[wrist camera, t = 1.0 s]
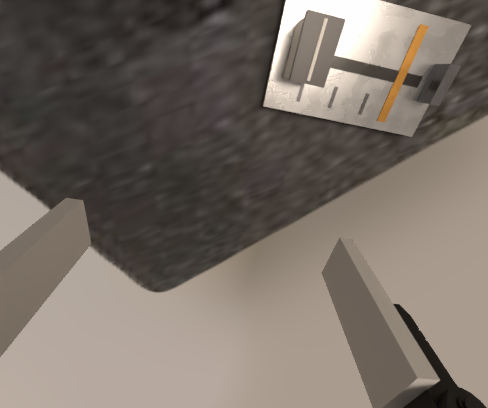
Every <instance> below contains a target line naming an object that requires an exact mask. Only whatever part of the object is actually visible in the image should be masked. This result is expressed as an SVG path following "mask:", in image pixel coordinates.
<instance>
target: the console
mask: <svg viewBox="0 0 488 408" xmlns="http://www.w3.org/2000/svg"><path fill="white" fill-rule="evenodd" d="M308 9H309V10H313V11H317V12H321V13H324V14H328V15H332V16H336V17H340V18H344V19H346V21H345V24H344V27H343V30H342V33H341V36H340V40H339V43H338V46H337V49H336V52H335V55H334V58H333V61H332V64H331V68H330V71H329V74H328V77H327V80H326V83H325V86H324V88H322V87H317V86H313V85H308V84H303V83H299V82H294V81H290V80H289V78H286V77H284V73H285V69H286V65H287V61H288V57H289V52H290V48H291V44H292V40H293V36H294V32H295V28H296V23H297V22H299V21H300V20H301V19H302V18H304V17H305V13H306V11H307V10H308ZM470 27H471V25H469V24H465V23H462V22H458V21H454V20H451V19H447V18H443V17H440V16H436V15H432V14H428V13H425V12H421V11H417V10H414V9H410V8H406V7H403V6H399V5H395V4H392V3H388V2H384V1H380V0H284V5H283V9H282V14H281V19H280V24H279V28H278V33H277V38H276V42H275V47H274V52H273V56H272V61H271V66H270V70H269V75H268V80H267V84H266V89H265V94H264V99H263V103H262V105H263V106H265V107H269V108H274V109H279V110H284V111H289V112H294V113H299V114H304V115H308V116H313V117H318V118H323V119H328V120H333V121H338V122H343V123H347V124H352V125H357V126H362V127H367V128H372V129H377V130H382V131H386V132H391V133H396V134H401V135H406V136H411V137H412V136H413V134H414V132H415V130H416V128H417V126H418V124H419V122H420V121H421V119H422V117H423V115H424V113H425V111H426V109H427V107H428V106H429V104H430V105H436V106H439V105H440V103H441V102H442V100H443V98H444V96H445V94H446V93H447V91H448V89H449V87H450V85H451V84H452V82H453V80H454V78H455V76H456V75H457V73H458V71H459V69H460V67H461V66H458V65H454V64H451V62H452V60H453V59H454V57H455V55H456V53H457V51H458V49H459V47H460V45H461V44H462V42H463V40H464V38H465V36H466V34H467V32H468V30H469V29H470Z"/></svg>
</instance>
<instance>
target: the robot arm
mask: <svg viewBox="0 0 488 408" xmlns="http://www.w3.org/2000/svg"><path fill="white" fill-rule="evenodd" d="M90 245H91V239H90V234H89V229H88V223H87V218H86V213H85V208H84V202H83V200H77V199H70V198H65V199H64V200H63V201H62V202H60V203H59V204H58V205H57V206H55V207H54V208H53V209H52V210H50V211H49V212H48V213H47V214H46V215H44V216H43V217H42V218H41V219H39V220H38V221H37V222H36V223H35V224H33V225H32V226H31V227H29V228H28V229H27V230H26V231H24V232H23V233H22V234H21V235H20V236H18V237H17V238H16V239H14V240H13V241H12V242H11V243H9V244H8V245H7V246H6V247H4V248H3V249H2V250H1V251H0V357H1V355H2V354H3V353H4V352H5V350H6V349H7V348H8V347H9V346H10V344H11V343H12V342H13V341H14V339H15V338H16V337H17V335H18V334H19V333H20V332H21V331H22V329H23V328H24V327H25V326H26V324H27V323H28V322H29V321H30V319H31V318H32V317H33V316H34V314H35V313H36V312H37V311H38V309H39V308H40V307H41V306H42V304H43V303H44V302H45V301H46V299H47V298H48V297H49V296H50V294H51V293H52V292H53V291H54V289H55V288H56V287H57V286H58V284H59V283H60V282H61V281H62V279H63V278H64V277H65V276H66V275H67V273H68V272H69V271H70V269H71V268H72V267H73V266H74V265H75V263H76V262H77V261H78V260H79V258H80V257H81V256H82V255H83V253H84V252H85V251H86V250H87V248H88V247H89V246H90ZM322 275H323V278H324V280H325V283H326V285H327V288H328V291H329V293H330V296H331V299H332V301H333V304H334V306H335V309H336V312H337V314H338V317H339V320H340V322H341V325H342V328H343V330H344V333H345V335H346V338H347V341H348V344H349V346H350V349H351V351H352V354H353V357H354V359H355V362H356V364H357V367H358V370H359V373H360V375H361V378H362V380H363V383H364V386H365V388H366V391H367V393H368V396H369V399H370V402H371V404H372V407H373V408H486V407H485V406H484V404H483V403H482V402H481V401H480V400H479V399H477V398H476V397H475V396H474V395H473V394H471V393H470V392H468V391H466V390H464V389H462V388H459V387H458V386H457V385H456V384H455V382H454V381H453V379H452V378H451V377H450V375H449V373H448V372H447V370H446V369H445V367H444V366H443V364H442V363H441V361H440V360H439V358H438V357H437V355H436V354H435V352H434V351H433V349H432V348H431V346H430V345H429V343H428V342H427V341H426V340H425V337H424V336H423V334H422V332H421V331H419V328H418V326H417V325H416V323H415V322H414V320H413V319H412V317H411V316H410V315H409V314H408V313H407V312H406V311H405V310H404V309H403V308H402V307H401V306H400V305H399V304H393V303H392V302H391V300H390V298H389V297H388V295H387V294H386V292H385V290H384V289H383V287H382V285H381V284H380V282H379V281H378V279H377V278H376V276H375V274H374V273H373V271H372V269H371V268H370V266H369V265H368V263H367V261H366V260H365V258H364V256H363V255H362V253H361V252H360V250H359V248H358V247H357V245H356V244H355V242H354V240H353V239H347V238H339V240H338V242H337V244H336V246H335V248H334V249H333V251H332V253H331V255H330V257H329V259H328V261H327V263H326V265H325V267H324V269H323V271H322Z"/></svg>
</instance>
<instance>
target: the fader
mask: <svg viewBox="0 0 488 408" xmlns="http://www.w3.org/2000/svg"><path fill="white" fill-rule="evenodd" d="M345 21H346V19H344V18H340V17H336V16H332V15H328V14H324V13H321V12H317V11H313V10H309V9H308V10H307V11H306V13H305V17H304V18H302V19H301V20H300V21H299V22H297V23H296V28H295V32H294V36H293V40H292V44H291V48H290V52H289V57H288V61H287V65H286V69H285V73H284V77H286V78H289V80H290V81H294V82H299V83H303V84H308V85H313V86H317V87H322V88H324V86H325V83H326V80H327V77H328V74H329V71H330V68H331V64H332V61H333V58H334V55H335V52H336V49H337V46H338V43H339V40H340V36H341V33H342V30H343V27H344V24H345Z"/></svg>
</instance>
